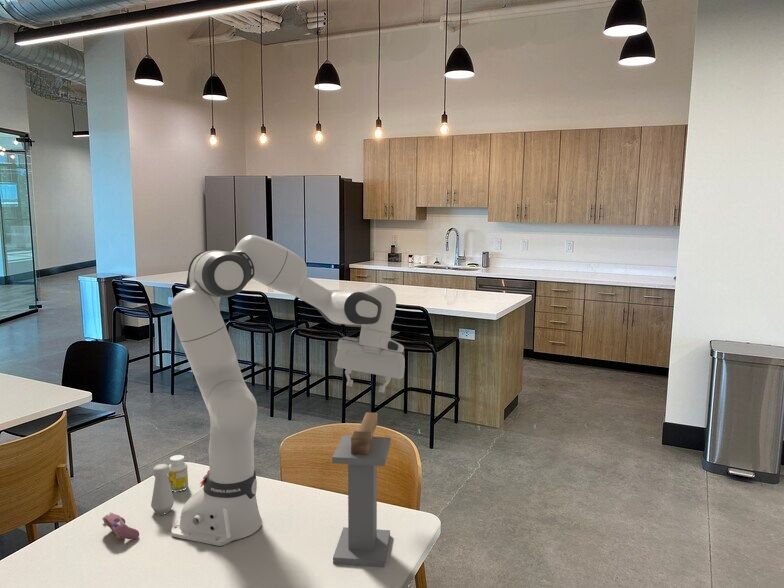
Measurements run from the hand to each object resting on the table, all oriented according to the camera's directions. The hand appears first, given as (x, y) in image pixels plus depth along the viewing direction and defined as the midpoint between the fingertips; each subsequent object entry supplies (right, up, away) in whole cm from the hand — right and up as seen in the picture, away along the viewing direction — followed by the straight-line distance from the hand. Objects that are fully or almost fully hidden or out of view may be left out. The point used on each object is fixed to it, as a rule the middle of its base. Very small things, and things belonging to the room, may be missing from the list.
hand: (365, 389), depth 162 cm
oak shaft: (+1, -8, -22) cm, 24 cm away
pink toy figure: (-61, -34, -19) cm, 72 cm away
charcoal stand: (+1, -35, -24) cm, 42 cm away
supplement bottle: (-56, -31, +6) cm, 64 cm away
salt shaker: (-55, -32, -7) cm, 64 cm away
